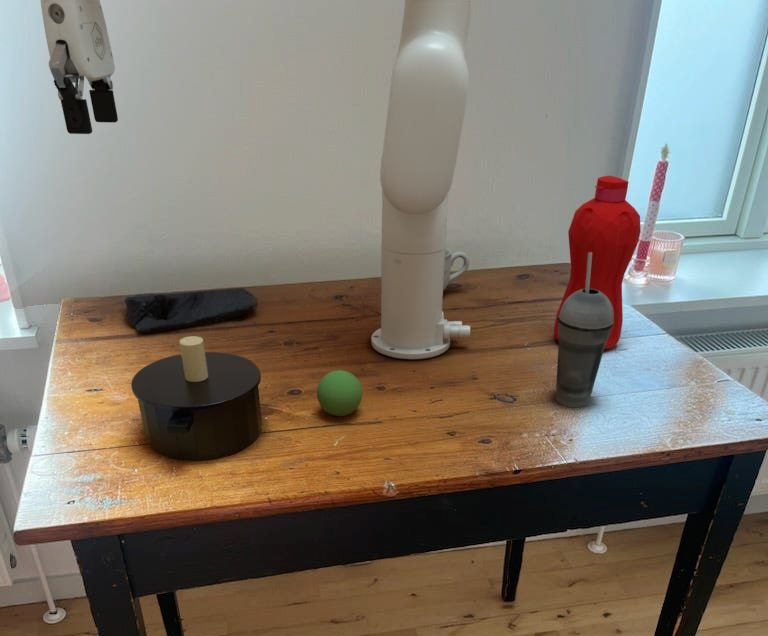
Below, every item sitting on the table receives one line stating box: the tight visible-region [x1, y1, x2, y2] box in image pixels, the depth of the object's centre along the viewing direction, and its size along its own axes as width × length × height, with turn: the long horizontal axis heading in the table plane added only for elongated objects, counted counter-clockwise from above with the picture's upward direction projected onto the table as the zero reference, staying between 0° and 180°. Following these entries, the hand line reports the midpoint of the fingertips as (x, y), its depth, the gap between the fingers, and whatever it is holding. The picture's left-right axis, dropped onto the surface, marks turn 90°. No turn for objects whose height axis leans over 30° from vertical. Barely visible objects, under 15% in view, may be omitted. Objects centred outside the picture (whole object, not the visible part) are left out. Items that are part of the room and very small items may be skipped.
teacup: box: [443, 247, 470, 291], centre depth 138 cm, size 14×11×8 cm
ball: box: [316, 369, 363, 417], centre depth 100 cm, size 6×6×6 cm
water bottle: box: [553, 175, 642, 350], centre depth 115 cm, size 9×11×25 cm
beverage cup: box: [555, 252, 614, 408], centre depth 99 cm, size 7×7×20 cm
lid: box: [130, 335, 262, 411], centre depth 92 cm, size 16×16×6 cm
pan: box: [137, 386, 263, 462], centre depth 95 cm, size 15×20×7 cm
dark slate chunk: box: [124, 287, 258, 334], centre depth 129 cm, size 15×22×5 cm
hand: (94, 127), depth 104 cm, fingers open, 9 cm apart
